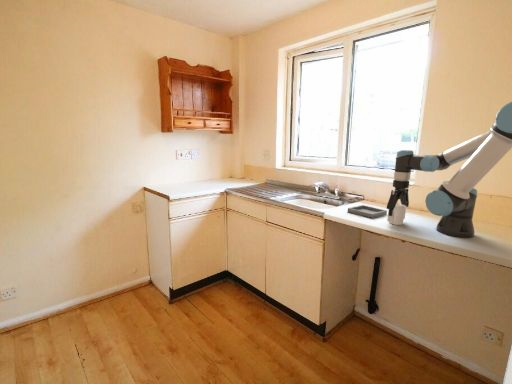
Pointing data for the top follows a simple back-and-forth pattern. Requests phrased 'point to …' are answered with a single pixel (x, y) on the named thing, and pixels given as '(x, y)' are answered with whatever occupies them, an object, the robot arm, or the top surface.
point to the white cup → (399, 214)
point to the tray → (367, 211)
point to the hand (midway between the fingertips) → (396, 219)
